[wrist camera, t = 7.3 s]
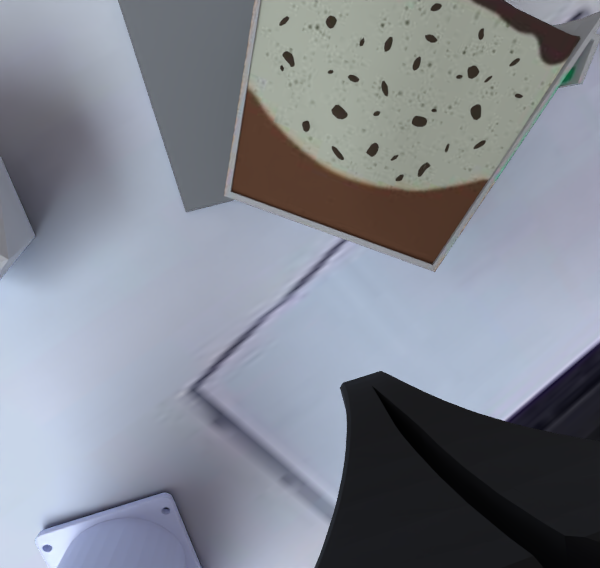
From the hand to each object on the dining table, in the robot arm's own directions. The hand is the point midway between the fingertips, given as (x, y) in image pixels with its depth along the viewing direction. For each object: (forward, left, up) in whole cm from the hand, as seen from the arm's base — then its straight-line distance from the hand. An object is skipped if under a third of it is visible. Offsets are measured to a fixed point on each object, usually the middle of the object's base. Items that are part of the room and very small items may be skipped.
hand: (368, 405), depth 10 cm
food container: (+5, -2, -8) cm, 9 cm away
